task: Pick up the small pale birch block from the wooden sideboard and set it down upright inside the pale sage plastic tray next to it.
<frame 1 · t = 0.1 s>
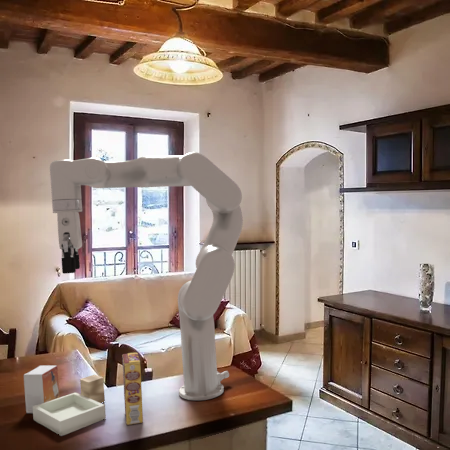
hand: (71, 271, 130), 37 cm above the table, tool pointing down, fingers open, 9 cm apart
birch block: (93, 403, 134), on the table
candy box: (134, 418, 123), on the table
tray: (69, 419, 124), on the table
small box: (43, 408, 134), on the table
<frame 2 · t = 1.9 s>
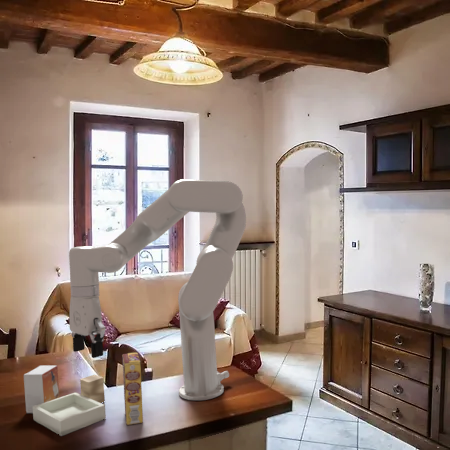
hand: (88, 353, 134), 14 cm above the table, tool pointing down, fingers open, 9 cm apart
nothing on the table moved.
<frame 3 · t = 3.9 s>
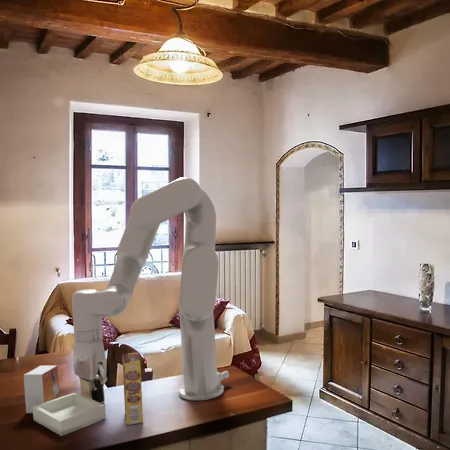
hand: (93, 400, 134), 1 cm above the table, tool pointing down, fingers closed on birch block, 4 cm apart
birch block: (93, 403, 134), on the table, touching gripper
everything else where it was.
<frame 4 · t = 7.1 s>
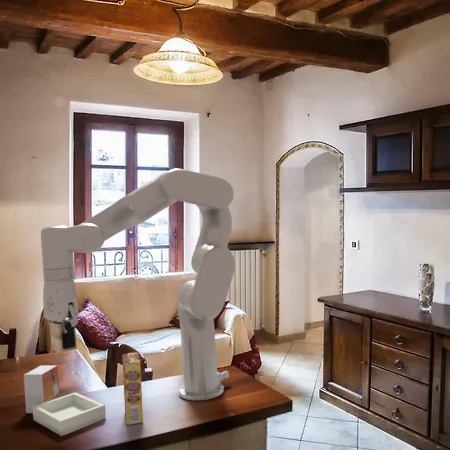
hand: (64, 345, 124), 19 cm above the table, tool pointing down, fingers closed on birch block, 4 cm apart
birch block: (64, 349, 124), point 18 cm above the table, touching gripper
everything else where it was.
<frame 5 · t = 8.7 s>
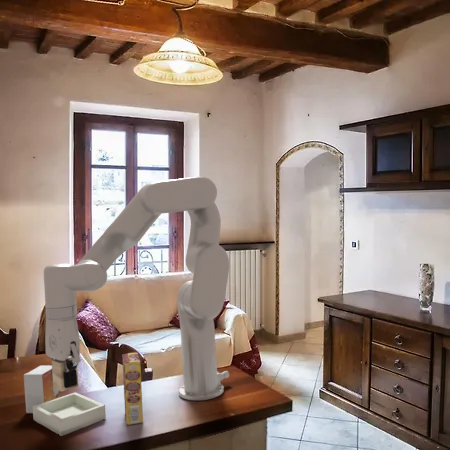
hand: (65, 383, 124), 9 cm above the table, tool pointing down, fingers closed on birch block, 4 cm apart
birch block: (65, 387, 124), point 8 cm above the table, touching gripper
everything else where it was.
when the fingers open (4 cm above the table, at t = 10.1 s): birch block drops 2 cm, resting on tray.
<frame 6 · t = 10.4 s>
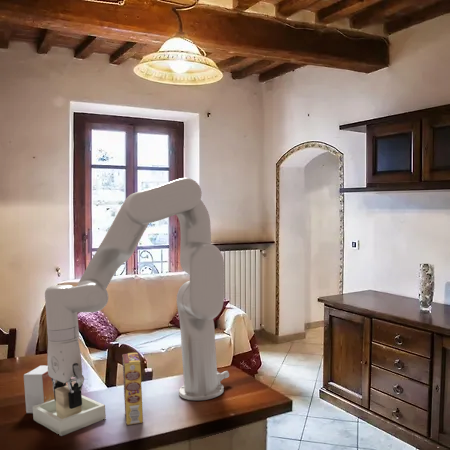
hand: (68, 402, 124), 4 cm above the table, tool pointing down, fingers open, 7 cm apart
birch block: (69, 415, 124), point 1 cm above the table, touching tray
everything else where it was.
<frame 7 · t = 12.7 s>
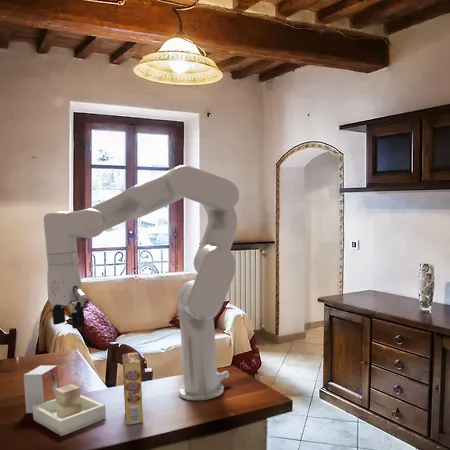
hand: (68, 325, 126), 24 cm above the table, tool pointing down, fingers open, 9 cm apart
nothing on the table moved.
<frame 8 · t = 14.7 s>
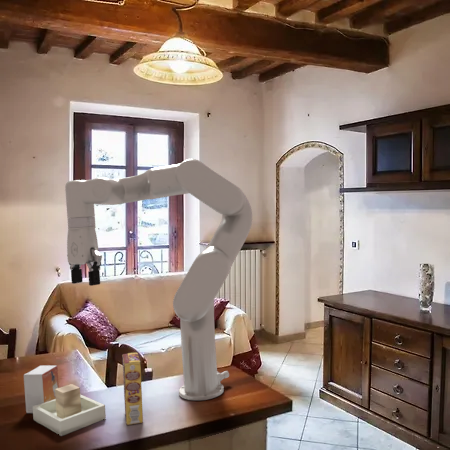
hand: (85, 283, 139), 32 cm above the table, tool pointing down, fingers open, 9 cm apart
nothing on the table moved.
at the end: birch block inside the target area on the tray (0.1 cm from its centre), point 1.0 cm above the tray's base; birch block tilted 0°; the gripper is holding nothing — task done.
